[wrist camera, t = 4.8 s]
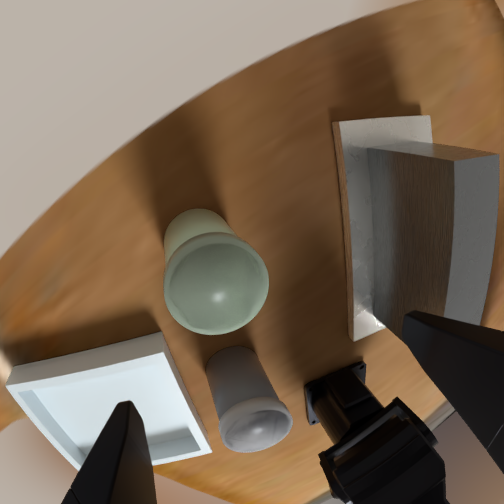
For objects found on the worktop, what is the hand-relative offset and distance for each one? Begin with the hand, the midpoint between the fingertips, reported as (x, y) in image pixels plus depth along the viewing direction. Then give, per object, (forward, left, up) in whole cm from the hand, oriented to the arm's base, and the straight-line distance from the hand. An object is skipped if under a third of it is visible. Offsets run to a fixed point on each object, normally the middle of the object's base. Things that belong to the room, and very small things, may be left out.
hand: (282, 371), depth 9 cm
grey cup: (-11, +1, -13) cm, 17 cm away
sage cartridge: (0, +1, -13) cm, 13 cm away
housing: (-3, -14, -13) cm, 20 cm away
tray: (-12, +12, -13) cm, 21 cm away
